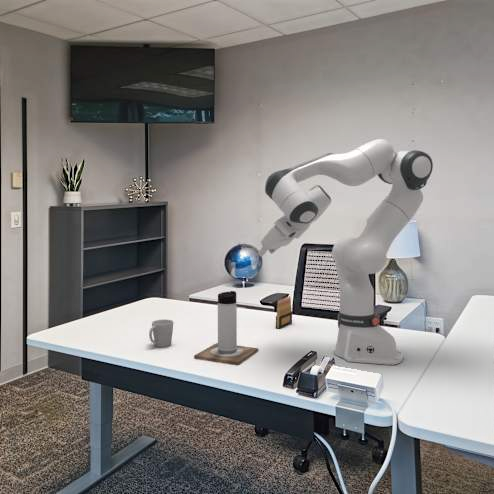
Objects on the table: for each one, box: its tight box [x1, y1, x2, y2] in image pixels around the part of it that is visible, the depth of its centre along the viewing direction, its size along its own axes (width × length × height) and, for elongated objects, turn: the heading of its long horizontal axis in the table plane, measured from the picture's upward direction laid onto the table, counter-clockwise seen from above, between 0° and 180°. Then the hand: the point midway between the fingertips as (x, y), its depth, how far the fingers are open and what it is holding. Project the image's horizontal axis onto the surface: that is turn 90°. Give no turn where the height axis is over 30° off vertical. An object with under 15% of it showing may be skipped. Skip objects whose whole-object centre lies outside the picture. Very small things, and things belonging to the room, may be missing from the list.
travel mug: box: [217, 290, 238, 354], centre depth 164 cm, size 6×7×20 cm
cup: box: [148, 319, 174, 348], centre depth 175 cm, size 8×10×8 cm
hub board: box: [193, 342, 259, 366], centre depth 165 cm, size 16×16×1 cm
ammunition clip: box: [275, 295, 293, 330], centre depth 203 cm, size 11×2×12 cm, turn 146°
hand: (265, 253), depth 170 cm, fingers open, 8 cm apart
